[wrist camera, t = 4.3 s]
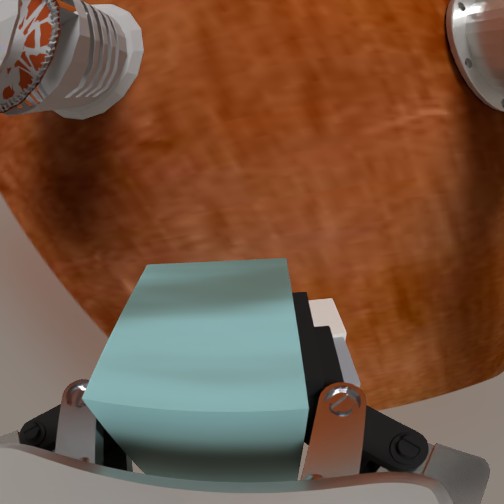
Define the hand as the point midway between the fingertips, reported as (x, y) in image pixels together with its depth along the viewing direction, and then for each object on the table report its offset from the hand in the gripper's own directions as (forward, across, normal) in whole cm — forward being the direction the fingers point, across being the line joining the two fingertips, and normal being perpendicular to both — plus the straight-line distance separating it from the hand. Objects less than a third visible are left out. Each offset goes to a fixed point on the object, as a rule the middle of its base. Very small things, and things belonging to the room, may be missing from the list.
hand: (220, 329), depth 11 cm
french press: (+14, +11, -14) cm, 22 cm away
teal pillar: (+1, 0, 0) cm, 1 cm away
